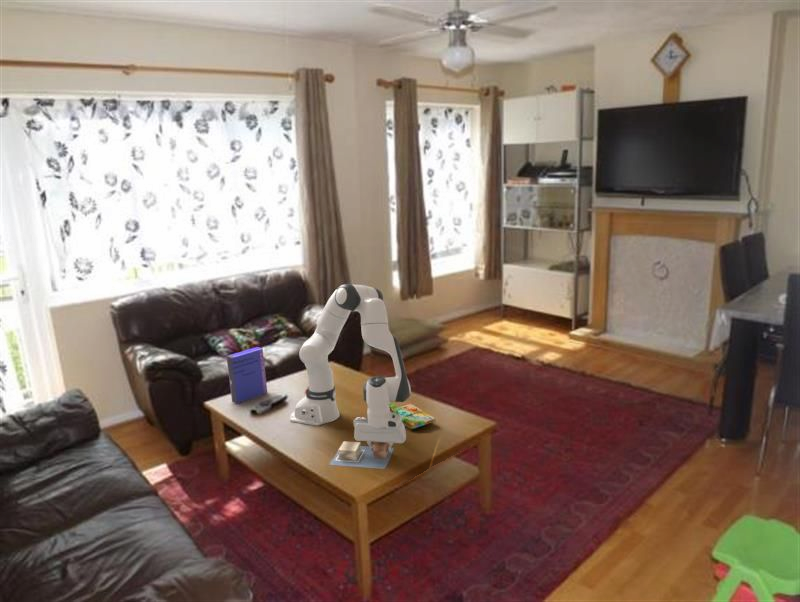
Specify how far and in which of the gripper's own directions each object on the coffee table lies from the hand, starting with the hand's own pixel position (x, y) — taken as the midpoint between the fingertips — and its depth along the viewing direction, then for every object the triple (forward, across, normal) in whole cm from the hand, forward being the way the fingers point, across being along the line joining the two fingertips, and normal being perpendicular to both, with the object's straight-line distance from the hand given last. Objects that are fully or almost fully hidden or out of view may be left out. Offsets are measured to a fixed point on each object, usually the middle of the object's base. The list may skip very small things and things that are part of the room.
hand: (380, 451), depth 223 cm
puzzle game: (+3, +6, +32) cm, 33 cm away
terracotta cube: (+2, 0, 0) cm, 2 cm away
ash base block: (+2, -12, -2) cm, 12 cm away
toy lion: (+3, -1, +18) cm, 18 cm away
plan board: (+2, -7, -2) cm, 8 cm away
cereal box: (+3, -81, +50) cm, 95 cm away
